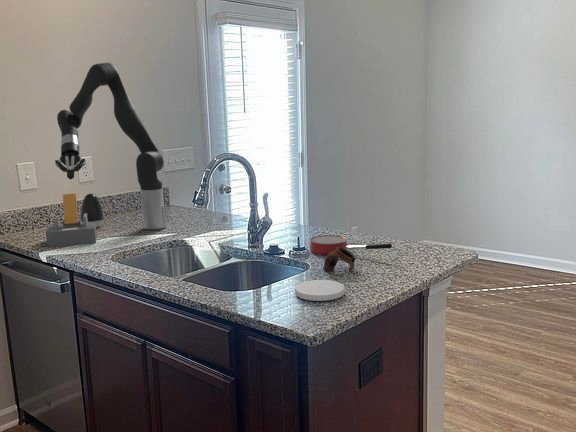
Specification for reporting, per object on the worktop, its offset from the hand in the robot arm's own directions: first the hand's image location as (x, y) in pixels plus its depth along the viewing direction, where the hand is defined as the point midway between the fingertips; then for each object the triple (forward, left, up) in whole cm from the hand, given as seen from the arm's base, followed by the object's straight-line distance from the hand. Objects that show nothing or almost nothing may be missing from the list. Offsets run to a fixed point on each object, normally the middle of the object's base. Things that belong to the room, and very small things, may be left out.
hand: (70, 178), depth 258 cm
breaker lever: (0, +17, -17) cm, 24 cm away
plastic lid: (-73, +115, -24) cm, 138 cm away
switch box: (0, +19, -23) cm, 30 cm away
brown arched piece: (-85, +95, -24) cm, 130 cm away
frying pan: (-97, +78, -24) cm, 127 cm away
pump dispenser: (-7, -7, -24) cm, 26 cm away
